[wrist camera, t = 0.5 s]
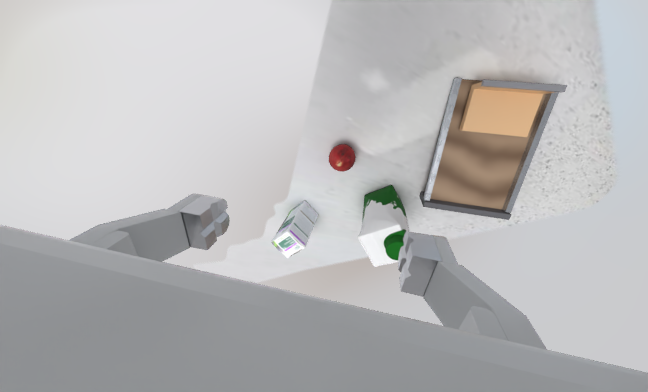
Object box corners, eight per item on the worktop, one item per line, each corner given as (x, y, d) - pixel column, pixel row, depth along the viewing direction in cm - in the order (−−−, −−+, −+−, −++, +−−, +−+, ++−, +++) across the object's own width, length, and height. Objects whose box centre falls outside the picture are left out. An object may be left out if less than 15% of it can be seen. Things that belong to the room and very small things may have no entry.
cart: (470, 79, 42) (484, 79, 37) (540, 84, 41) (567, 85, 35) (454, 128, 47) (465, 135, 41) (518, 134, 45) (539, 142, 39)
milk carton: (407, 209, 57) (421, 267, 40) (373, 221, 60) (371, 278, 43) (394, 179, 54) (402, 227, 37) (359, 193, 58) (351, 242, 40)
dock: (452, 77, 44) (463, 77, 39) (553, 84, 41) (578, 85, 36) (419, 194, 56) (423, 206, 50) (495, 205, 53) (508, 219, 48)
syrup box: (304, 199, 62) (286, 230, 49) (319, 215, 63) (304, 248, 50) (290, 210, 64) (269, 242, 52) (305, 224, 66) (287, 259, 53)
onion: (337, 136, 53) (331, 145, 46) (360, 147, 53) (358, 157, 46) (328, 159, 55) (321, 170, 48) (350, 168, 55) (346, 181, 48)
